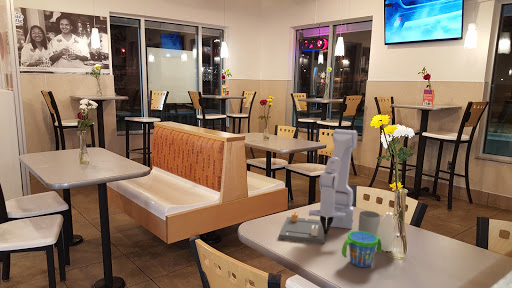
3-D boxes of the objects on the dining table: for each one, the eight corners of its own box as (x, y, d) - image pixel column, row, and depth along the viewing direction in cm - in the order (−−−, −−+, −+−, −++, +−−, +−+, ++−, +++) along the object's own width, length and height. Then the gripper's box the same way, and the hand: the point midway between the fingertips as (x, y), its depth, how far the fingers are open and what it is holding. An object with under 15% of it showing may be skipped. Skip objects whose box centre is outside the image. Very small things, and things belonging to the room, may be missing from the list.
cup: (375, 233, 157) (377, 211, 155) (380, 241, 149) (382, 218, 147) (356, 232, 157) (357, 210, 156) (359, 240, 149) (361, 217, 148)
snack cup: (372, 254, 137) (374, 229, 135) (388, 268, 127) (391, 241, 125) (334, 258, 133) (336, 232, 132) (348, 272, 123) (349, 244, 121)
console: (326, 224, 165) (326, 220, 164) (323, 244, 145) (323, 239, 144) (287, 220, 169) (287, 216, 169) (279, 238, 149) (279, 234, 148)
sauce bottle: (378, 244, 146) (382, 201, 143) (399, 249, 141) (403, 206, 138) (372, 251, 139) (376, 207, 136) (393, 257, 135) (397, 211, 132)
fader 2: (318, 232, 151) (318, 225, 150) (317, 236, 147) (317, 228, 146) (312, 231, 151) (312, 224, 151) (311, 235, 147) (311, 228, 147)
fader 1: (298, 218, 165) (298, 212, 165) (296, 221, 162) (297, 215, 161) (292, 218, 166) (292, 211, 165) (291, 221, 162) (291, 214, 162)
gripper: (308, 203, 143) (307, 235, 146) (346, 206, 140) (343, 239, 142) (310, 198, 150) (308, 228, 152) (345, 201, 147) (343, 232, 149)
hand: (325, 233), depth 148 cm, fingers closed
